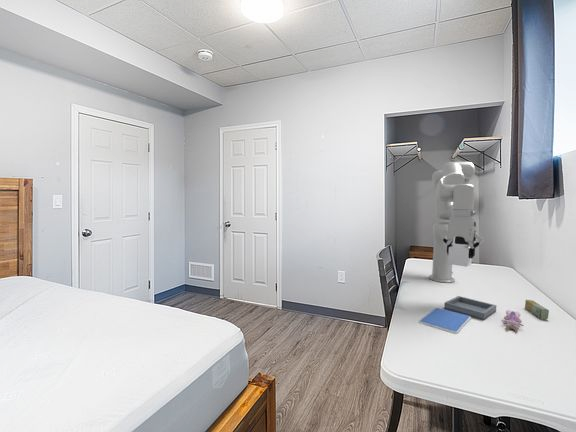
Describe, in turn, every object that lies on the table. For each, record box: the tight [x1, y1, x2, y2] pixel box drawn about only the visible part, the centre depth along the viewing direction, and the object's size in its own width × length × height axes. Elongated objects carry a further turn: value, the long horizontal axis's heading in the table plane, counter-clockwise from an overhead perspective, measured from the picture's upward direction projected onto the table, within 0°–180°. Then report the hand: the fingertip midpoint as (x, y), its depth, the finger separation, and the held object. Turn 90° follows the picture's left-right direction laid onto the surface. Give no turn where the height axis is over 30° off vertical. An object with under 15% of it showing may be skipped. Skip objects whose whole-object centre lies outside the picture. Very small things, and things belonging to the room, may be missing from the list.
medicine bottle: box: [448, 236, 473, 267], centre depth 125 cm, size 7×7×12 cm
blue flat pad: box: [418, 307, 472, 335], centre depth 109 cm, size 19×13×1 cm, turn 136°
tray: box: [443, 295, 498, 321], centre depth 119 cm, size 14×14×2 cm
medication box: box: [524, 299, 550, 320], centre depth 117 cm, size 12×3×4 cm, turn 165°
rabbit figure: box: [501, 309, 525, 333], centre depth 106 cm, size 6×6×15 cm
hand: (460, 256), depth 125 cm, fingers closed on medicine bottle, 7 cm apart
